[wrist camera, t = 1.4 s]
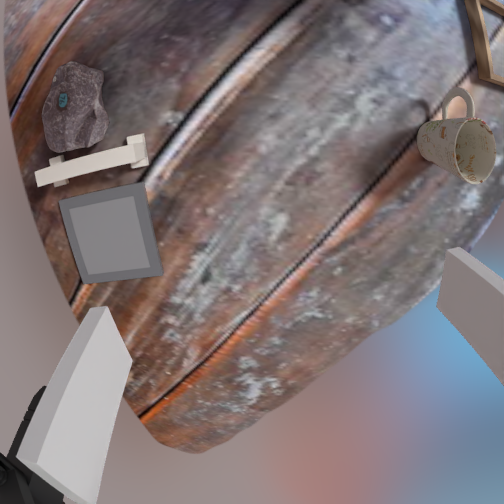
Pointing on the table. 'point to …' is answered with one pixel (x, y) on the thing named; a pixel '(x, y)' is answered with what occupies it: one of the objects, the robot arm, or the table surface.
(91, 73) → the rock
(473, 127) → the mug
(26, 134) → the table surface
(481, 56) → the wooden frame
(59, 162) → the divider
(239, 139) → the table surface
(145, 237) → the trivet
